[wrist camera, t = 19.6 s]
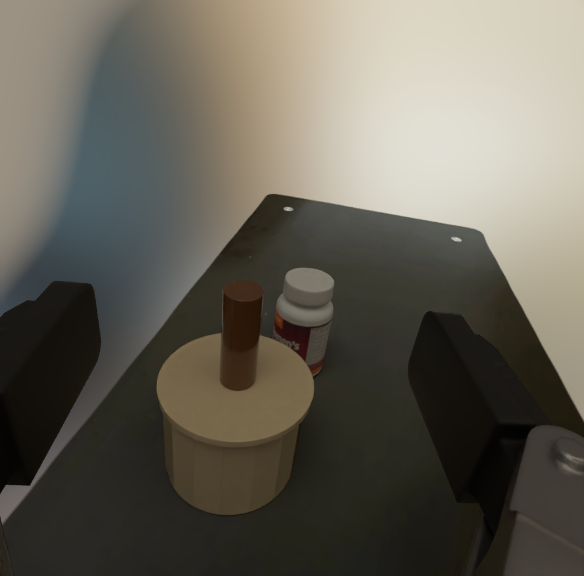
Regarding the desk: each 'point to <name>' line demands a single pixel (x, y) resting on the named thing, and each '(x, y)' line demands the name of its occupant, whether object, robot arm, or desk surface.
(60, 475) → the desk surface
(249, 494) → the canister
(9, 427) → the robot arm
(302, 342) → the pill bottle
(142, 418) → the desk surface
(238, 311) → the lid
